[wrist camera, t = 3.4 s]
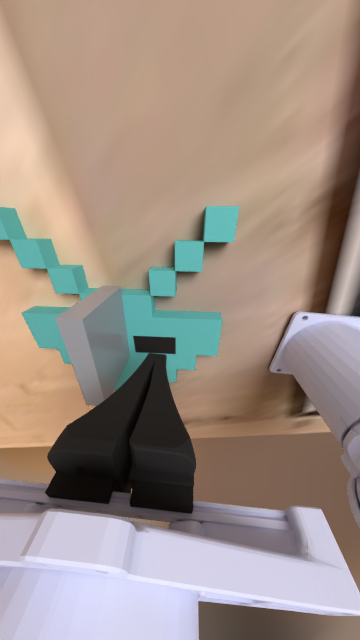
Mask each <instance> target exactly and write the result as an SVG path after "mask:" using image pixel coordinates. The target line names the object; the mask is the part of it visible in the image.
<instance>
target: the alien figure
mask: <svg viewBox="0 0 360 640" xmlns="http://www.w3.org/2000/svg"><path fill="white" fill-rule="evenodd" d="M238 211H239V206H206V208H205V215H204V230H203V240H176V241H175V267H152V268H151V269H150V270H149V282H150V290H138V289H121V291H122V298H123V306H124V314H125V321H126V329H127V337H128V344H129V352H130V357H129V359H128V362H127V364H126V366H125V368H124V370H123V372H122V374H121V376H120V378H119V381H118V383H117V385H116V387H115V389H114V391H116V390H117V389H118V388H120V387H121V386H122V385H123V384H124V383H125V382H126V381H127V380H128V378H129V377H130V376H131V375H132V374H133V373H134V372H135V371H136V370H137V368H138V367H139V366H140V365H141V363H142V362H143V361H144V359H145V358H146V357H147V355H148V354H149V353H155V354H165V355H166V356H167V362H166V370H167V377H168V382H176V378H177V369H185V370H195V366H196V355H205V356H217V353H218V346H219V339H220V332H221V326H222V317H221V314H220V312H192V311H162V310H156V308H155V296H175V295H176V291H177V271H192V272H202V264H203V250H204V242H234V238H235V231H236V225H237V218H238ZM0 240H10V242H11V244H12V247H13V249H14V251H15V253H16V256H17V258H18V260H19V262H20V264H21V267H22V268H39V269H47V271H48V274H49V276H50V279H51V282H52V284H53V287H54V290H55V292H56V293H67V294H79V295H80V299H81V300H82V299H84V298H85V297H87V296H89V295H90V294H92V293H93V292H95V291H96V290H98V289H99V288H88V284H87V281H86V277H85V273H84V270H83V266H82V265H60V264H59V261H58V258H57V255H56V252H55V249H54V247H53V244H52V241H51V239H27V237H26V235H25V232H24V230H23V227H22V225H21V222H20V220H19V217H18V215H17V212H16V210H15V209H14V208H4V207H0ZM69 308H70V307H41V306H34V307H32V308H30V309H28V310H26V311H24V312H22V315H23V317H24V319H25V321H26V323H27V325H28V327H29V329H30V331H31V333H32V335H33V336H34V338H35V340H36V342H37V344H38V346H39V348H51V349H59V352H60V354H61V356H62V358H63V361H64V363H65V364H72V363H71V360H70V358H69V355H68V352H67V350H66V347H65V344H64V341H63V339H62V336H61V333H60V330H59V328H58V325H57V322H56V319H55V317H57V316H58V315H60V314H61V313H63V312H64V311H66V310H67V309H69Z"/></svg>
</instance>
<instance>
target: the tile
mask: <svg viewBox="0 0 360 640" xmlns="http://www.w3.org/2000/svg"><path fill="white" fill-rule="evenodd" d="M55 319H56V322H57V325H58V328H59V330H60V333H61V336H62V339H63V341H64V344H65V347H66V350H67V352H68V355H69V358H70V360H71V363H72V366H73V369H74V371H75V374H76V377H77V380H78V382H79V385H80V388H81V391H82V393H83V396H84V399H85V401H86V404H87V405H95V406H98V405H99V404H100V403H102V402H103V401H104V400H106V399H107V398H108V397H109V396H110V395H112V393H113V391H114V389H115V387H116V385H117V383H118V381H119V378H120V376H121V374H122V372H123V370H124V368H125V366H126V364H127V362H128V359H129V357H130V352H129V344H128V337H127V329H126V321H125V314H124V306H123V298H122V291H121V287H114V286H102V287H101V288H99V289H98V290H96V291H95V292H93V293H92V294H90V295H89V296H87V297H85V298H84V299H82V300H81V301H79V302H78V303H76V304H75V305H73V306H72V307H70V308H69V309H67V310H66V311H64V312H63V313H61V314H60V315H58V316H57V317H55Z"/></svg>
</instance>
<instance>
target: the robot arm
mask: <svg viewBox="0 0 360 640" xmlns="http://www.w3.org/2000/svg"><path fill="white" fill-rule="evenodd" d="M304 316H306V317H305V318H303V317H304ZM302 318H303V319H302ZM166 362H167V356H166V355H165V354H155V353H149V354H148V355H147V357H146V358H145V359H144V361H143V362H142V363H141V365H140V366H139V367H138V368H137V370H136V371H135V372H134V373H133V374H132V375H131V376H130V377H129V378H128V380H127V381H126V382H125V383H124V384H123V385H122V386H121V387H120V388H118V389H117V390H116V391H115V392H114V393H113V394H112V395H110V396H109V397H108V398H107V399H106V400H104V401H103V402H102V403H100V404H99V405H98V406H96V407H95V408H93V409H92V410H91V411H89V412H88V413H86V414H85V415H83V416H82V417H80V418H78V419H77V420H75V421H74V422H72V423H70V424H69V425H67V426H66V428H65V429H64V430H63V432H62V433H61V434H60V436H59V437H58V439H57V440H56V442H55V443H54V445H53V447H52V448H51V450H50V451H49V453H48V456H47V457H48V460H49V462H50V464H51V465H52V467H53V468H54V469H55V471H56V473H55V475H54V477H53V479H52V480H51V483H50V484H43V483H34V482H25V481H16V480H7V479H0V640H199V636H198V635H199V633H198V632H199V631H198V601H206V602H215V603H225V604H235V605H244V606H254V607H262V608H272V609H281V610H290V611H298V612H307V613H315V614H323V615H334V616H335V615H336V616H360V593H359V590H358V589H357V586H356V584H355V582H354V580H353V578H352V575H351V573H350V571H349V569H348V566H347V564H346V562H345V560H344V558H343V556H342V553H341V551H340V549H339V547H338V545H337V543H336V541H335V538H334V536H333V534H332V532H331V530H330V528H329V525H328V523H327V521H326V519H325V516H324V514H323V512H322V510H321V509H320V508H314V507H306V506H290V507H288V508H287V510H286V511H282V510H272V509H264V508H254V507H246V506H237V505H228V504H220V503H211V502H202V501H193V487H194V472H195V469H196V459H195V454H194V450H193V447H192V443H191V439H190V436H189V434H188V432H187V430H186V428H185V426H184V424H183V422H182V420H181V418H180V415H179V413H178V410H177V408H176V405H175V403H174V400H173V397H172V393H171V390H170V386H169V382H168V377H167V370H166ZM269 370H270V371H271V372H272V373H281V374H292V375H293V376H294V377H295V379H296V380H297V382H298V383H299V384H300V386H301V387H302V389H303V390H304V392H305V393H306V395H307V396H308V398H309V399H310V401H311V402H312V404H313V405H314V406H315V408H316V409H317V411H318V412H319V414H320V415H321V417H322V418H323V420H324V421H325V423H326V424H327V426H328V427H329V428H330V430H331V431H332V433H333V434H334V436H335V437H336V439H337V440H338V442H339V443H340V445H341V446H342V447H343V448H344V454H343V455H342V456H341V457H340V458H341V460H342V462H343V463H344V465H345V466H346V468H347V470H348V471H349V473H350V474H351V477H350V479H349V481H348V486H347V492H348V499H349V503H350V507H351V509H352V512H353V515H354V517H355V520H356V522H357V524H358V526H359V527H360V317H355V316H344V315H333V314H321V313H310V312H296V313H295V314H294V315H293V316H292V318H291V321H290V323H289V325H288V327H287V329H286V332H285V334H284V336H283V338H282V340H281V343H280V345H279V347H278V349H277V351H276V354H275V356H274V358H273V360H272V362H271V365H270V367H269ZM131 488H132V494H131ZM120 516H121V517H120ZM123 517H130V518H139V519H147V520H156V521H164V522H171V523H170V524H169V529H167V528H163V527H158V526H153V525H148V524H144V523H139V522H134V521H130V520H129V519H126V518H123Z"/></svg>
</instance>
